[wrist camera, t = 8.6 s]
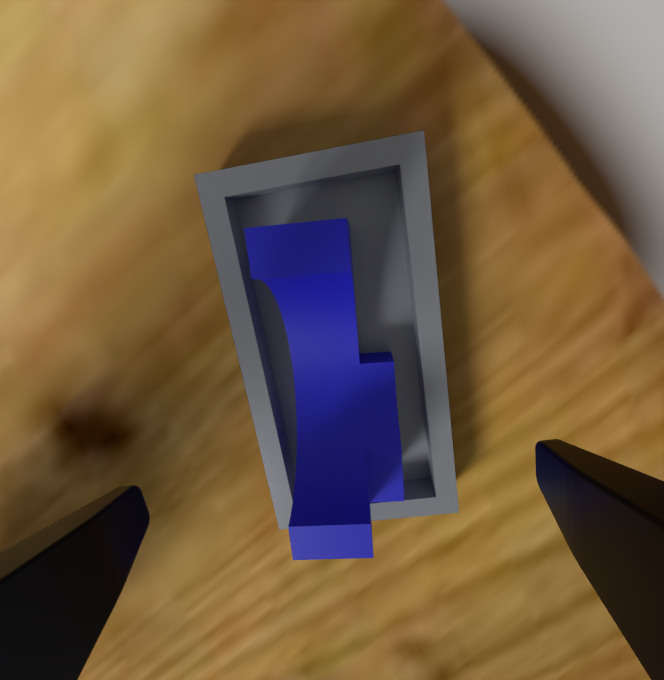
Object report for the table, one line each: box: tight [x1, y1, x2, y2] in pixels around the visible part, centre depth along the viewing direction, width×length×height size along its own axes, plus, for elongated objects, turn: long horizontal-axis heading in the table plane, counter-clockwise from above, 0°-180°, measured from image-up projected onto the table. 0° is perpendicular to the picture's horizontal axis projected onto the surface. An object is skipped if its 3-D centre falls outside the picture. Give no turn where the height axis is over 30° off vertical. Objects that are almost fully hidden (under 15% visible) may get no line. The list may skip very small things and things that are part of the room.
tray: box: [194, 130, 459, 530], centre depth 18 cm, size 17×9×2 cm, turn 10°
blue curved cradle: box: [244, 218, 404, 560], centre depth 15 cm, size 12×4×6 cm, turn 6°
